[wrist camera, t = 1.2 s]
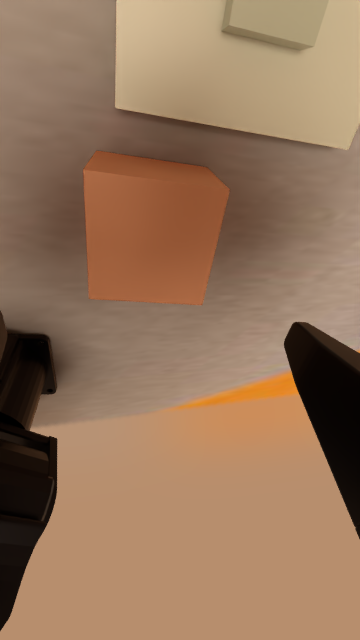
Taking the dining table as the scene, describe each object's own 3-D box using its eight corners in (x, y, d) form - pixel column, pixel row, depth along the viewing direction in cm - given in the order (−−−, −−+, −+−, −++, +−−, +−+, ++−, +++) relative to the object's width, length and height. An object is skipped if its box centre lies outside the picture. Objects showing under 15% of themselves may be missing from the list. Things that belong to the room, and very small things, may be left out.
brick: (188, 263, 20) (202, 305, 16) (98, 256, 19) (89, 298, 15) (206, 167, 16) (229, 189, 12) (96, 150, 15) (83, 169, 11)
